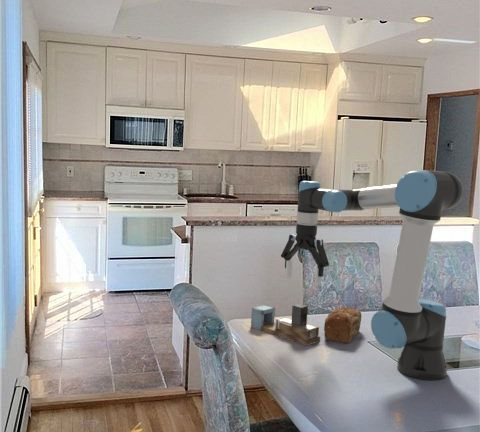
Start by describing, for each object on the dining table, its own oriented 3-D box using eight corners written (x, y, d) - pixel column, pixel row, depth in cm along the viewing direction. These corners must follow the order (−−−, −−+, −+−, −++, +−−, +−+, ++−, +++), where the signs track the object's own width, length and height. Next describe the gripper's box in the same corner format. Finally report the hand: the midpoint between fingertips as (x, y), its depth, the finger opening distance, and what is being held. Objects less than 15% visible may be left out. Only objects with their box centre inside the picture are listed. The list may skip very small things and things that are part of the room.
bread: (350, 345, 203) (352, 318, 202) (321, 340, 207) (323, 313, 206) (361, 331, 220) (363, 306, 219) (334, 326, 224) (336, 302, 223)
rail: (320, 340, 206) (320, 327, 205) (306, 345, 200) (307, 331, 199) (264, 323, 224) (265, 310, 223) (250, 326, 218) (251, 314, 218)
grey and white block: (316, 337, 204) (317, 308, 203) (309, 339, 201) (311, 310, 200) (281, 326, 215) (283, 299, 214) (275, 328, 212) (276, 300, 211)
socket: (274, 326, 221) (275, 307, 220) (260, 330, 215) (261, 310, 214) (264, 323, 224) (265, 304, 223) (250, 326, 218) (251, 308, 217)
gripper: (341, 228, 197) (337, 286, 200) (286, 218, 214) (283, 273, 217) (329, 229, 192) (324, 289, 194) (274, 219, 209) (270, 275, 211)
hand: (302, 281), depth 205 cm, fingers open, 13 cm apart
